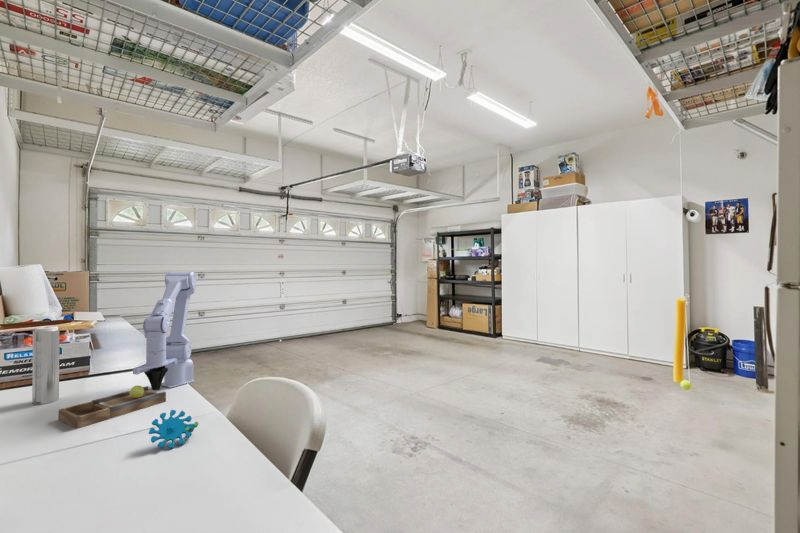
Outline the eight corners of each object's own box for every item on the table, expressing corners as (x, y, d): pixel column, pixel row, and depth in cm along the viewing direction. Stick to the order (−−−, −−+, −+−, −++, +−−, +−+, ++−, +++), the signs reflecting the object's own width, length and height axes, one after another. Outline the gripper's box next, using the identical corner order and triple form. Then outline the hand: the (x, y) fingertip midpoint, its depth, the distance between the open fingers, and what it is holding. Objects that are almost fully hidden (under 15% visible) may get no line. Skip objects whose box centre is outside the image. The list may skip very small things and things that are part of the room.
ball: (140, 394, 123) (140, 383, 123) (146, 397, 121) (146, 385, 121) (126, 398, 120) (127, 386, 120) (133, 400, 118) (133, 388, 118)
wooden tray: (146, 395, 129) (146, 386, 129) (165, 401, 123) (165, 391, 123) (58, 419, 108) (58, 409, 108) (76, 428, 102) (76, 417, 102)
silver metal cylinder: (27, 403, 121) (28, 328, 121) (52, 396, 127) (53, 325, 127) (38, 405, 118) (39, 329, 118) (63, 399, 124) (63, 326, 124)
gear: (147, 449, 88) (151, 410, 94) (144, 459, 91) (148, 421, 97) (198, 442, 94) (199, 406, 100) (193, 452, 97) (194, 417, 103)
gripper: (167, 345, 134) (167, 382, 134) (126, 354, 120) (126, 395, 120) (181, 346, 132) (181, 384, 132) (141, 356, 118) (141, 397, 118)
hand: (155, 389), depth 126 cm, fingers closed
